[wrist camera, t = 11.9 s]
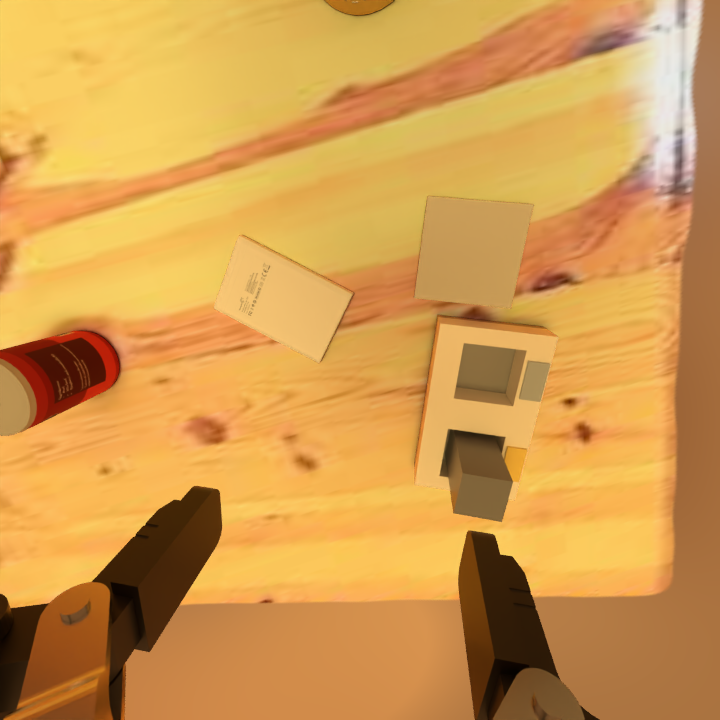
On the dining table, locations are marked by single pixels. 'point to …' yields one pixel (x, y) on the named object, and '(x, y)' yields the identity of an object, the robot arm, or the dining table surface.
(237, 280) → the external hard drive
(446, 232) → the mat
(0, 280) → the dining table surface
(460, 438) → the plug
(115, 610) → the robot arm
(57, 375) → the canned food
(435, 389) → the socket block
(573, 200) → the dining table surface
